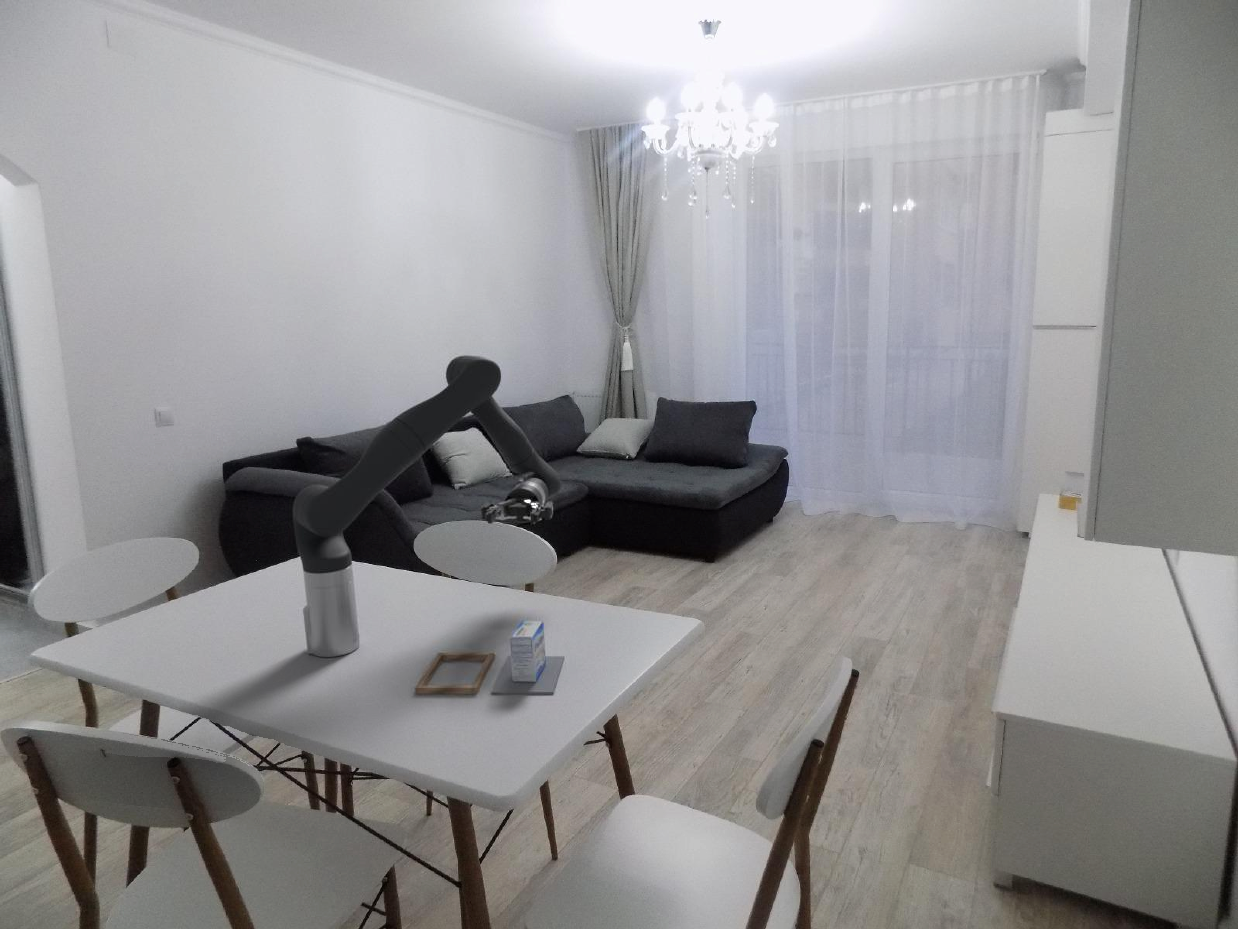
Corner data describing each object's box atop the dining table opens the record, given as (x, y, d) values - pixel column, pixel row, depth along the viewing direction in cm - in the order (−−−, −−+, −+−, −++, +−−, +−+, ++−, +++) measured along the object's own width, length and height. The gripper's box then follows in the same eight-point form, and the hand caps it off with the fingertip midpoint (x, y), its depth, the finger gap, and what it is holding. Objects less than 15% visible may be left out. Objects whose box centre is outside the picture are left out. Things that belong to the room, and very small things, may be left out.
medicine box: (536, 683, 147) (533, 637, 146) (511, 682, 148) (509, 636, 147) (546, 664, 155) (544, 620, 153) (523, 663, 156) (520, 620, 154)
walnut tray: (415, 694, 146) (414, 687, 145) (438, 658, 160) (438, 652, 160) (477, 694, 145) (476, 687, 145) (494, 658, 160) (494, 652, 159)
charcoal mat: (491, 694, 145) (490, 692, 145) (507, 658, 159) (507, 656, 159) (553, 694, 144) (553, 692, 144) (564, 658, 159) (564, 656, 159)
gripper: (492, 483, 178) (474, 500, 163) (558, 484, 177) (546, 500, 162) (493, 517, 180) (476, 537, 164) (558, 518, 179) (547, 537, 163)
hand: (511, 518), depth 163 cm, fingers open, 8 cm apart
